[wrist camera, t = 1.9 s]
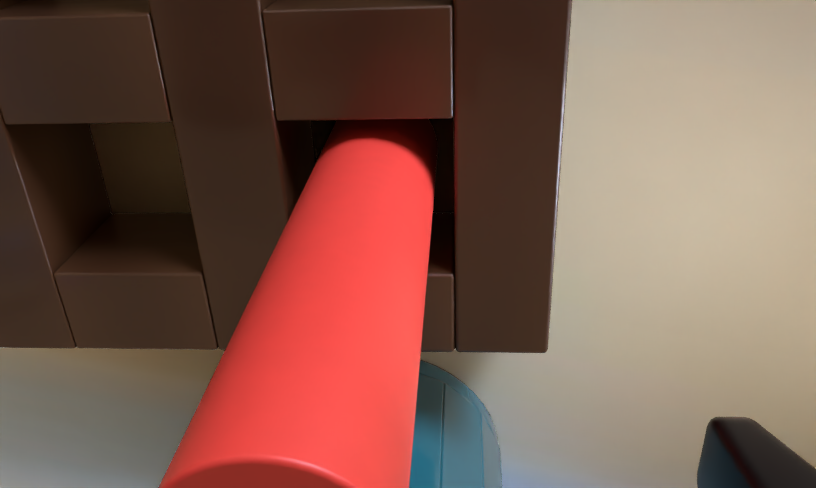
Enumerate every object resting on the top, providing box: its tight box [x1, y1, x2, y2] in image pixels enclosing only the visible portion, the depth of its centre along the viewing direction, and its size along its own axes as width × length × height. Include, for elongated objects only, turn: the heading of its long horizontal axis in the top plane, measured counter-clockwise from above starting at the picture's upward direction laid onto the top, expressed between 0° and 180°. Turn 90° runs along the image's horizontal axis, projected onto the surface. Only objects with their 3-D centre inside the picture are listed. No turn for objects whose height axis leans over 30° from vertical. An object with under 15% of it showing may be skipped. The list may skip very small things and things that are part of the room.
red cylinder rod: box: [158, 119, 438, 488], centre depth 12 cm, size 2×2×11 cm
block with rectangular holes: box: [0, 0, 572, 353], centre depth 14 cm, size 13×13×3 cm
